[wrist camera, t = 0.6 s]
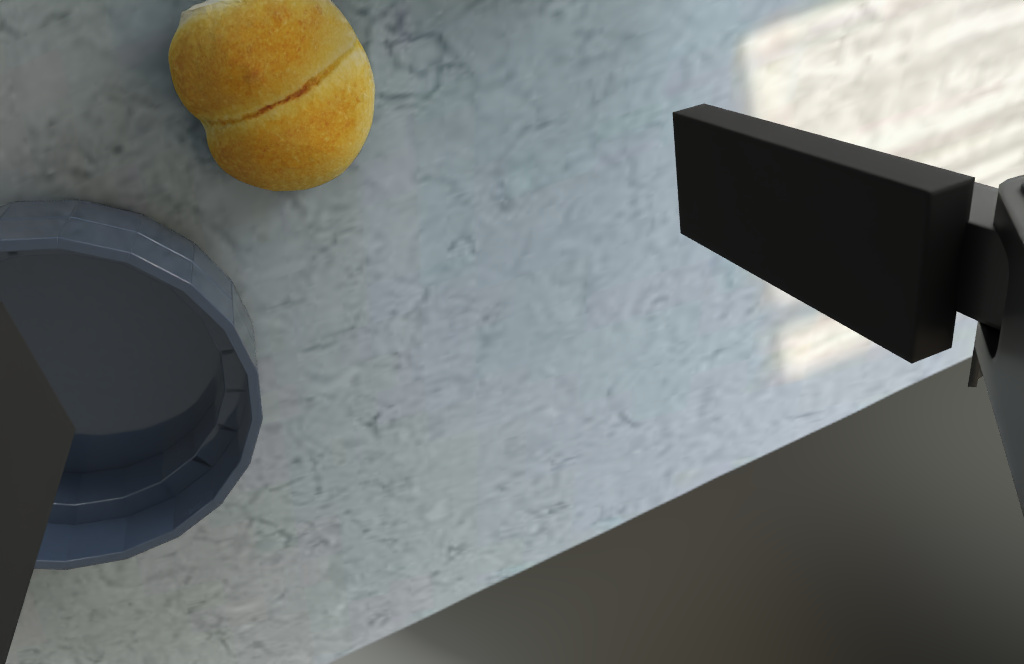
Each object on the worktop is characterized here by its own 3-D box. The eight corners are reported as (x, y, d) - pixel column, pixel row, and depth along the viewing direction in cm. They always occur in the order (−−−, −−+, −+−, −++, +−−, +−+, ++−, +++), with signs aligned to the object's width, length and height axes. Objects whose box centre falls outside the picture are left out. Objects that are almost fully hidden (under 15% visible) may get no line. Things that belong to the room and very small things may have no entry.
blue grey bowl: (-174, 204, 30) (-251, 251, 25) (239, 191, 36) (243, 228, 31) (-67, 515, 37) (-111, 602, 32) (267, 465, 42) (274, 533, 37)
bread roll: (246, 209, 36) (249, 233, 33) (141, 24, 32) (132, 30, 28) (399, 140, 37) (418, 157, 34) (320, -48, 33) (332, -50, 29)
